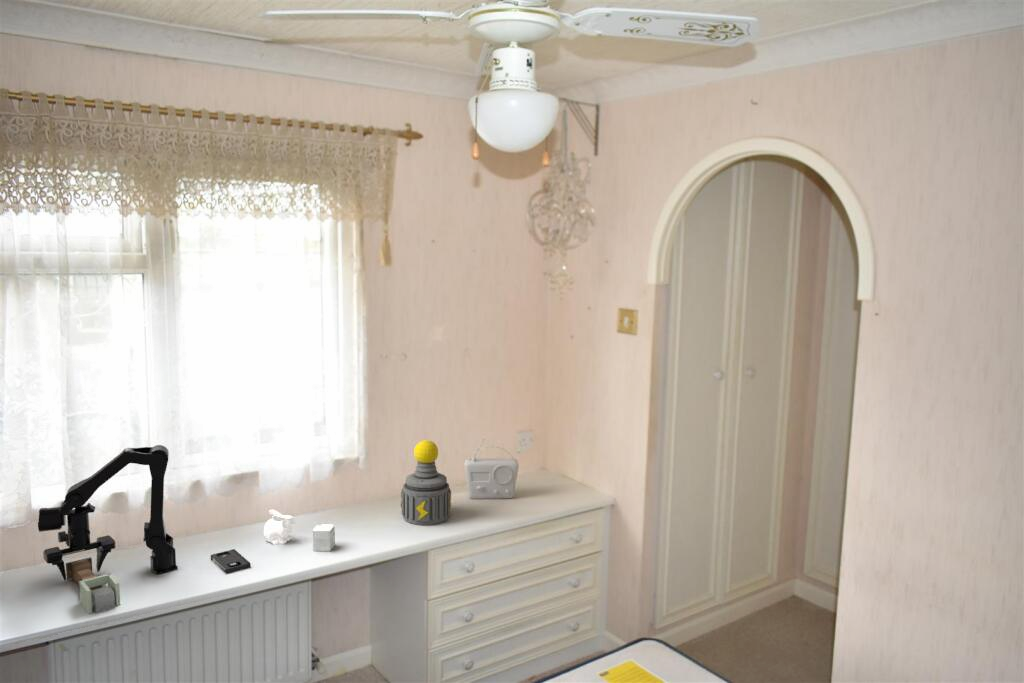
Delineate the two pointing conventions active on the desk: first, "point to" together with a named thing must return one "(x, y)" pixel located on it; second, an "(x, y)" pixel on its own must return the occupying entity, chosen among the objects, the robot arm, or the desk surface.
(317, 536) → the skincare box
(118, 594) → the cradle
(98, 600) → the block
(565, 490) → the desk surface
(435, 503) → the decorative lamp
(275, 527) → the rabbit
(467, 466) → the radio
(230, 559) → the vhs tape
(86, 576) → the brown wooden stepped block
